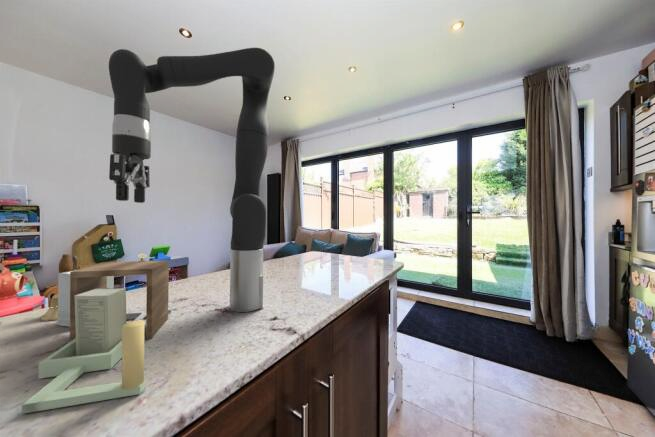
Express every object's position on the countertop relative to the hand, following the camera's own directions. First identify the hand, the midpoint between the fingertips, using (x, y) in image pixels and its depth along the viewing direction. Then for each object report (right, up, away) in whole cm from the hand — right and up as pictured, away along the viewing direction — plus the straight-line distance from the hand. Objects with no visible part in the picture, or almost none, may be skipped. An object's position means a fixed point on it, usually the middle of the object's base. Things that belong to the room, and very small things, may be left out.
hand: (131, 201), depth 60 cm
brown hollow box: (+3, -30, -6) cm, 31 cm away
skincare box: (+7, -31, -15) cm, 35 cm away
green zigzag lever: (+11, -30, -19) cm, 37 cm away
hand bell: (-20, -30, +3) cm, 36 cm away
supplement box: (-11, -30, -1) cm, 32 cm away
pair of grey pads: (+1, -30, +2) cm, 30 cm away
